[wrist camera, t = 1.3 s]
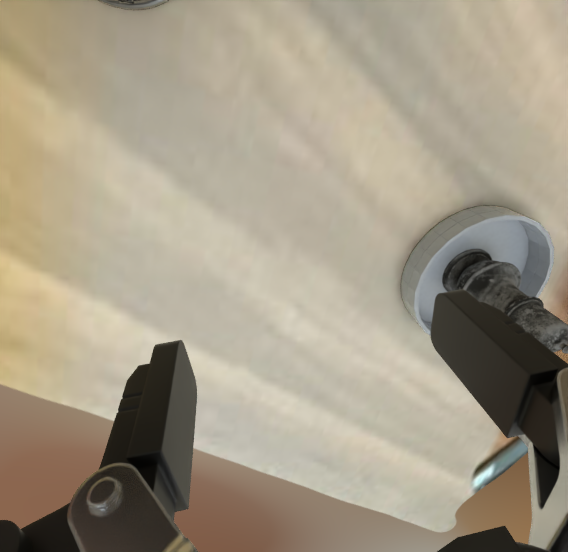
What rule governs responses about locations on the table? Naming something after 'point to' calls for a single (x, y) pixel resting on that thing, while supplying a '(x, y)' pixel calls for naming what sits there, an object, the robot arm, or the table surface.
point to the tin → (475, 235)
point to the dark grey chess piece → (505, 295)
